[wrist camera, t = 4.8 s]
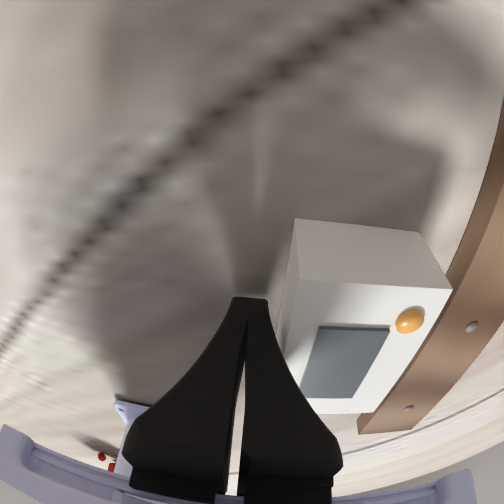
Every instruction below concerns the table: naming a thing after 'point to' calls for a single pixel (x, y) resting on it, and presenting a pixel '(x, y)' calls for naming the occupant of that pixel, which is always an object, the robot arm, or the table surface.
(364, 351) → the box
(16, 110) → the table surface
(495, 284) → the batten
